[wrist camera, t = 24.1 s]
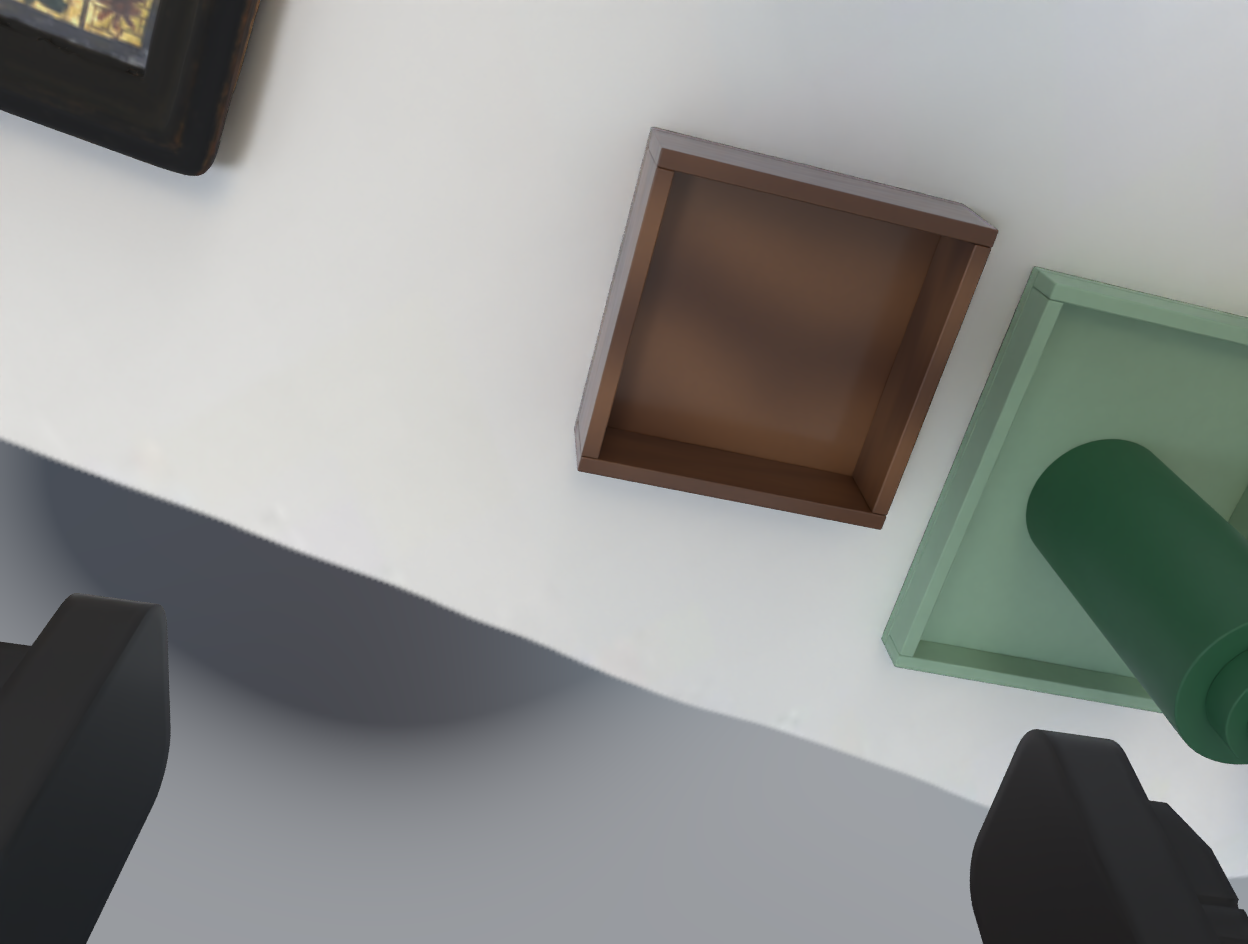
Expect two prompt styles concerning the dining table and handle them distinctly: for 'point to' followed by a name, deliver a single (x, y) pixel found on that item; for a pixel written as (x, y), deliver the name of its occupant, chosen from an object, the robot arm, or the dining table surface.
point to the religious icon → (127, 72)
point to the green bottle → (1154, 583)
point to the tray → (1031, 441)
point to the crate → (774, 331)
